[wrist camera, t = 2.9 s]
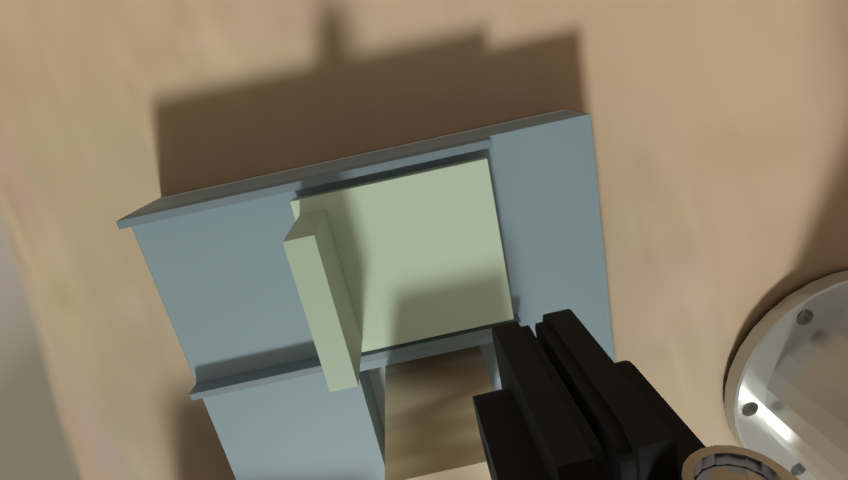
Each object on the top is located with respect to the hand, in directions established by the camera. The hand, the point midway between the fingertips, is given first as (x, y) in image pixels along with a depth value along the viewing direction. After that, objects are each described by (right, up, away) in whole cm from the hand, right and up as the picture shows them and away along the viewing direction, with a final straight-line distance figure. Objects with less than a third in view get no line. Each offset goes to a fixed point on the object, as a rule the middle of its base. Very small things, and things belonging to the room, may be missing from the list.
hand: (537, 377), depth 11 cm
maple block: (-2, -4, +15) cm, 15 cm away
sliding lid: (-3, +2, +9) cm, 10 cm away
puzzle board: (-3, -1, +14) cm, 14 cm away
